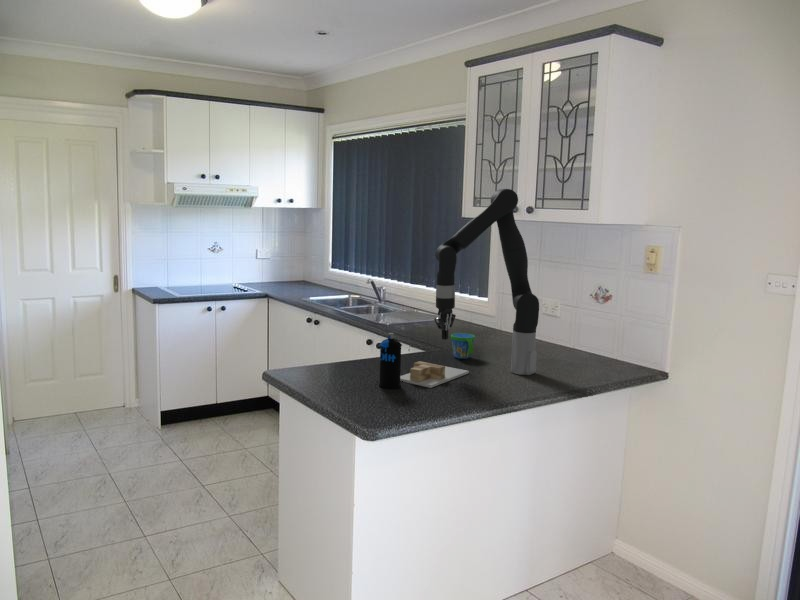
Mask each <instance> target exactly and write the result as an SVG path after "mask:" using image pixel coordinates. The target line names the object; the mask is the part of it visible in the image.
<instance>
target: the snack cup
mask: <svg viewBox="0 0 800 600" xmlns="http://www.w3.org/2000/svg"><path fill="white" fill-rule="evenodd" d="M450 339H451V346H452V354H453V355H452V356H453V357H454V358H455V359H458V360H468V359H470V358H471V356H472V354H473V353H474V351H475V350H474V341H475V340H476V335H474V334H473V333H465V332H457V333H456V332H455V333H451V335H450Z"/></svg>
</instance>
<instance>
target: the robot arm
mask: <svg viewBox="0 0 800 600" xmlns="http://www.w3.org/2000/svg"><path fill="white" fill-rule="evenodd" d="M518 203H519V195H518V194H517V193H516V191H514V190H513V189H510V188H501V189H497V190H495V191H494V192H493V193H492V195H491V196H490V204H489V205H488V206H487V208H485V209H484V210H483V211H482V212H481V213H479V214H478V215H477V216H475V217H474V218H472V219H470V220H469V221H468V222H467V223H466V224H465V225H463V226H462V227H461V228H460V229H459V230H458V231H457V232H455V234H453V236H452V237H450V238H448V239H447V240H446V241H445V242H443V243H441V245H439V246H438V247H437V249H436V251H435V258H436V260H437V262H438V271H437V272H436V273H437V274H436V288H435V308H436V309H437V317H434V318H433V319H434V323H435V324H436V327H437V328H438V330H441V340H448V339H449V330H450V328H452V327H453V325H454V322H455V319H456V316H457V315H456V314H455V313H453V309H455V307H456V289H455V271H456V265H457V254H458V253H460V252H461V251H462V250H465V249H466V248H468V247H469V246H470V245H471V244H472V243H473V242H474V241H476V240H477V239H478V238H479V237H480V236H481V235H482V234H483V233H484V232H485V231H486V230H487V229H489V228H490V227H491V226H492V225H493V224H495V223H496V225H497V230H498V237H499V240H500V245H501V246H500V247H501V252H502V257H503V261H504V264H505V268H506V272H507V275H508V279H509V281H510V289H511V299H512V305H513V308H514V309H515V320H514V323H513V324H512V343H511V358H510V359H511V361H510V373H512V374H516V375H520V376H521V375H522V376H531V375H533V374H535V373H536V371H537V370H536V369H537V353H538V350H537V349H536V337H537V335H536V333H537V327H538V324H539V317H540V316H539V315H540V300H539V298H538V297H537V296H536V294H534V293H533V292H532V289H531V286H530V282H529V277H528V276H529V275H528V273H529V272H528V269H529V268H528V267H529V266H528V265H529V259H528V253H527V249H526V244H525V241H524V238H523V236H522V234H521V232H520V230H519V227H518V226H517V223H516V220H515V214H514V210H515V209H516V207H518V206H517V205H518Z"/></svg>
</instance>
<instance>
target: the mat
mask: <svg viewBox="0 0 800 600" xmlns="http://www.w3.org/2000/svg"><path fill="white" fill-rule="evenodd" d="M444 366H445V365H444ZM469 373H470V371H469V370H465V369H461V368H455V367H452V366H451V367H450V366H445V378H442V379H440V380H439V379H434V378H428V379H426V380H423V381H420V382H417V381H412V380H410V372H409V373H406V374H403V375H400V382H402V381H403V383H407V384H411V385H416V386H421V387H425V388H430V389H431V388H434V387H436V386H439V385H441V384H444V383H447V382H450V381H452V380H455V379H457V378H460V377H462V376H465V375H467V374H469Z"/></svg>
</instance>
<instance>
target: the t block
mask: <svg viewBox="0 0 800 600" xmlns="http://www.w3.org/2000/svg"><path fill="white" fill-rule="evenodd" d="M409 373H410V380H412V381H417V382H420V381H423V380H426V379H428V378H434V379H439V380H440V379H442V378H445V365H439V364H436V363H430V362H425V361H420V360H419V361H415V362H413V367H411V368H410V369H409Z"/></svg>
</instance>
